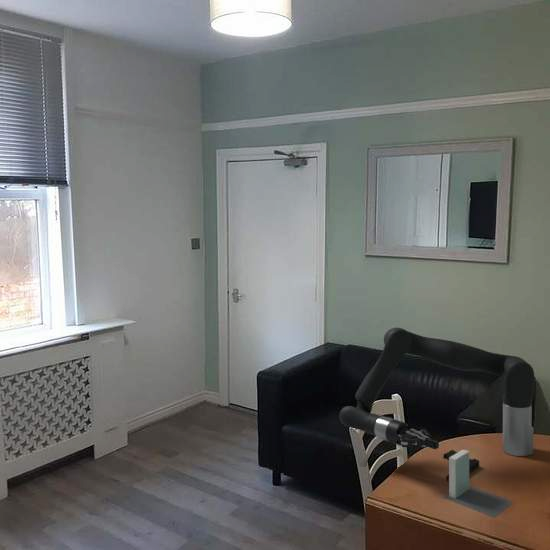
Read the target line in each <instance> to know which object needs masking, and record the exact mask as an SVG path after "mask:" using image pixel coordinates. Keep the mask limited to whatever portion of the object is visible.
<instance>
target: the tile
mask: <svg viewBox="0 0 550 550" xmlns="http://www.w3.org/2000/svg"><path fill="white" fill-rule="evenodd" d="M469 459H470V451H469V450H465V449H462V450H460V451H458V452H457V453H456V454H454V455H453V456H451V457H449V460H448V475H449V481H448V485H449V487H448V491H449V492H448V494H449V496H450V497H453V498H457V497H458V496H460V495H461V494H463V493H464V492H465V491H467V490H468V489H469V486H470V473H469Z"/></svg>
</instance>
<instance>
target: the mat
mask: <svg viewBox="0 0 550 550" xmlns="http://www.w3.org/2000/svg"><path fill="white" fill-rule="evenodd" d="M442 498H443V499H446V500H447V501H450V502H454V503H455V504H458V505H460V506H463V507H466V508H469V509H471V510H473V511H477V512H478V513H481V514H483V515H486V516H489V517H491V518H497V516H498V515H499V514H500V513H502V512H503V511H505V510H506V509H507V508H508V507H509V506H511V505H512V504H513V503H514V502H515V501H514V500H511V499H507V498H505V497H503V496H499V495H498V494H497V495H496V494H494V493H492V492H488V491H485V490H484V489H480V488H478V487H474V486H473V485H469V489H468V490H467V491H465V492H464V493H463V494H461V495H460V496H458V497H457V498H453V497H450V496H449V493H447V494H445V495H444V496H443V497H442Z"/></svg>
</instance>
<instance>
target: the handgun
mask: <svg viewBox="0 0 550 550" xmlns="http://www.w3.org/2000/svg"><path fill="white" fill-rule="evenodd" d="M456 453H458V452H457V451H456V450H453V449H451V450H449V451H447V452H446V453H443V459H445V460H448V461H449V457H451V456H453V455H454V454H456ZM479 467H480V460H478V459H476V458H472V459H471V458H469V474H471V473H472V472H474V471H475V470H476V469H477V468H479ZM445 479H446V481H447V482H449V474H447V475H446V478H445Z"/></svg>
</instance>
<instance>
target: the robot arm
mask: <svg viewBox="0 0 550 550" xmlns="http://www.w3.org/2000/svg"><path fill="white" fill-rule="evenodd" d="M383 343H384V345H383V346H384V347H383V350H382V352H381V354H380V356H379V358H378V359H377V361H376V363H375V364H374V365H373V367H372V368H371V369H370V371H369V372H368V373H367V374H366V376H365V378H364V379H363V380H362V382H361V383H360V385H359V388H358V389H357V391H356V393H355V396H354V397H355V399H356V401H357V405H356V407H355V406H352V405H347V406H344V407H342V409H340V411H339V417H338V418H339V421H340V423H341V424H343V426H345V427H347V428H351V429H353V428H355V429H354V430H357V429H358V430H360V431H362V432H363V433H367V434H368V435H371V436H374V437H377V438H379V439H381V440H383V441H386V442H389V443H391V444H394V445H397V446H401V448H413V449H414V448H415V449H420V448H421V447H422V448H425V447H427V448H430V449H432V450H437V449H439V447H440V443H439V441H438V440H436V439H432V438H431V435H430V433H429V432H428V430H426V429H425V428H421V430H417V429H415V428H410V426H409V425H408V423H407V422H404V421H401V420H397V419H395V418H391V417H388V416H382V415H379V414H376V413H372V410H373V406H374V403H375V402H376V400H377V398H378V397H379V395H380V393H381V392H382V390H383V388H384V386H385V384H386V382H387V381H388V379H389V378H390V376H391V374H392V372H393V371H394V370H395V368H396V367H397V365H398V364H399V362H400V361H401V360H403V358H404V357H405V355H411V356H416V357H420V358H424V359H425V360H428V361H430V362H432V363H436V364H438V365H441V366H444V367H448V368H450V369H454V370H458V371H463V372H483V373H489V374H491V375H492V374H493V375H495V376H498V377H500V378H503V379H505V393H503V395H502V451H503V452H504V453H506V454H508V455H510V456H515V457H526V456H529V455H534V429H535V428H534V427H533V426H532V414H533V413H532V410H533V409H532V403H533V402H532V401H533V399H534V394H535V393H534V392H535V370H534V368H533V367H532V365H531V364H529V363H528V362H527V361H526V360H525V359H523V358H522V357H520V356H516V355H508V354H502V353H494V352H491V351H486V350H484V349H481V348H478V347H475V346H472V345H468V344H465V343H461V342H457V341H453V340H448V339H442V338H435V337H428V336H422V335H419V334H416V333H413V332H411V331H409V330H406V329H404V328H401V327H393V328H391V329H389V330H387V331H386V332H385V334H384V336H383Z"/></svg>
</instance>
